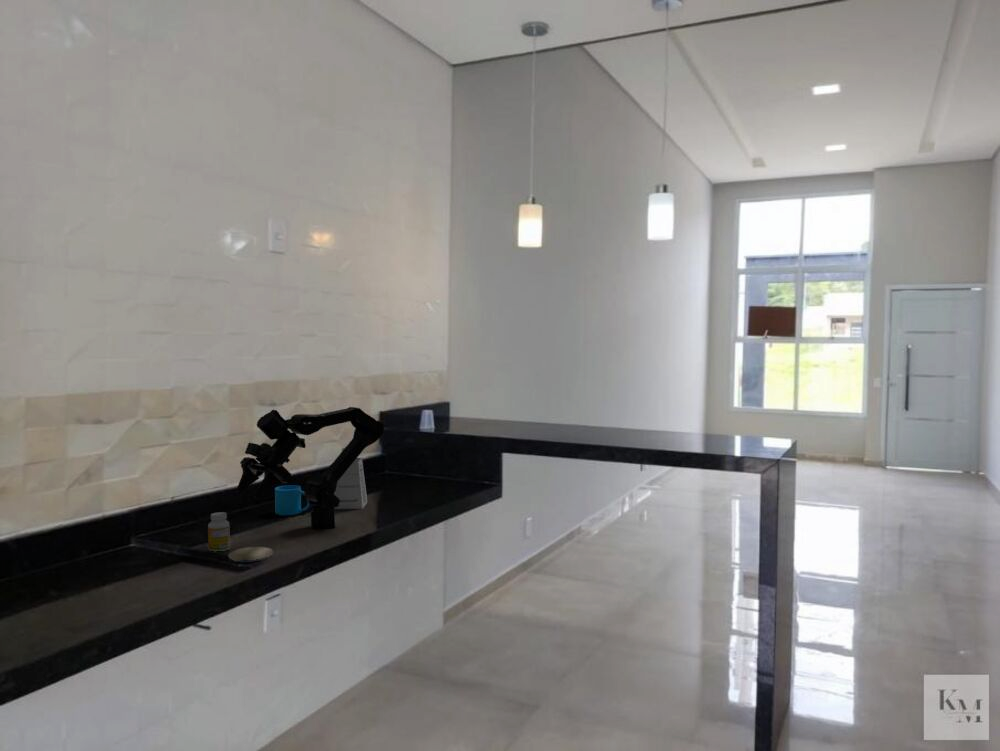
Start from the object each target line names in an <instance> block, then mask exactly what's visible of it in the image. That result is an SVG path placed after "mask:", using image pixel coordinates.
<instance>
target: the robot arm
mask: <svg viewBox="0 0 1000 751" xmlns="http://www.w3.org/2000/svg"><path fill="white" fill-rule="evenodd" d="M349 422H350V424H351V425H352V427H353V428H355V429H354V431H353V435H352V437H353V438H352V439H351V440H350V441H349V443H348V444H346V445H345V446H346V447H345V446H344V447H345V449H344V450H343V451H342V450H341V452H340V453H339V455H338V456H337V457H336V458H335V459H334V461H333V462H332V463H331V464H330V465H329V466H328V468H327V469H326V470H325V471H323V473H317V472H316V473H314V474H312V476H311V477H310V479H309V480H308V481H307V482H305V484H306V485H305V486H304V490H303V491H304V494H305V495H304V497H305V499H306V500H307V499H308V501H307V502H309V504H310V506H312V509H311V512H310V525H311V526H312V529H313V530H314V529H319V530H320V529H334V528H336V521H335V520H336V519H335V518H336V517H335V511H336V509H335V507H338V506H339V502H340V499H339V498H338V497H336V496H335V495H334V492H335V491H336V486H337V482H338V480H339V479H340V478H341V477H342V476H343V474H344V473H345V472H346V471H347V469H348V468H349V467H350V466H351V465H352V463H353V462H354V461H355V460H356V458H359V456H360V455H361V453H362V452H363V451H364V450H365V449H366V448H367V447H369V446H371V445H372V444H374V443H376V442H377V441H378V440H380V438H382V437H383V435H384V433H385V427H384V424H383V422H381V421H379V420H376V419H375V418H374V417H372V416H371V415H369V414H367V413H366V412H364V410H362V408H360V407H354V406H349V407H347V408H342V409H338V410H333V411H329V412H323V413H318V414H311V413H310V414H307V413H305V414H304V413H303V414H302V413H299V414H298V413H297V414H293V415H292V416H291V417H290V418H288V419H285V418H283V417H282V416H281V414H280V413H279V411H278V410H277V409H271V411H270V412H268V413H265V414H264V415H263V416H261V417H260V418H258V420H257V422H256V427H257V428H258V429H259V430H260V431H261V432H262V433H263V434H264V435H265V436H266V437H267V438H268V439H269V440H275V441H274V443H273V444H272V445H271V444H269V443H267V442H262V443H261V444H258V443H253V442H248V444H247V446H246V449H245V451H244V454H246V455H250V456H252V457H249V456H248V457H243V458H242V459H241V460H240V462H239V463H240V464H239V465H240V467H241V470H242V474H241V476H240V479H239V482H238V484H237V487H236V490H235V491H236V492H237V493H241V492H242V491H244V490H246V489H247V488H248V487H249V486H251V485H252V484H254V483H255V482H256V481H258V480H259V479H260V477H261V476H262V475H263V474H264V475H263V476H264V477H263V479H262V480H261V482H260V483H259V484H258V486H257V488H256V489H255V490H254V493H253V497H254V498H258V497H260V496H262V495H263V494H265V493H267V492H269V491H271V490H273V489H274V490H275V488H276V487H279V486H284V484H288V483H289V482H290V481H291V479H292V473H291V472H290V471H289V470H288V469H287V468H286V467H285V466H284V463H287V464H288V463H289V462H291V459H289V458H290V456H291V455H292V454H293V452H294V451H295V450H296V448H297V447H298V448H301V449H306V447H307V446H306V442H305V441H306V440H305V438H304V437H303V438H301V437H300V436H298V435H301V436H310V435H313V434H315V433H317V432H319V431H320V430H321V429H323V428H326V427H330V426H335V425H339V424H340V425H341V424H343V423H344V424H345V423H349ZM253 457H254V458H253Z"/></svg>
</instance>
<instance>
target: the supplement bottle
mask: <svg viewBox="0 0 1000 751" xmlns="http://www.w3.org/2000/svg"><path fill="white" fill-rule="evenodd" d="M227 518H228V516H227V512H224V511H222V512H220V511H219V512H213V513H211V514H210V520H211V521H210V522H209V523H208V525H207V538H208V539H207V541H208V542H207V545H208V551H209V550H213V551H223V552H226V551H225V550H227V551H228V549H229V550H230V549H231V535H230V533H231V531H230V528H231V527H230V522H229V521H228V520H227Z"/></svg>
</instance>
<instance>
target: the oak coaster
mask: <svg viewBox="0 0 1000 751" xmlns="http://www.w3.org/2000/svg"><path fill="white" fill-rule="evenodd" d="M272 554H273V555H274V549H272V548H270V547H265V546H250V547H249V546H248V547H241V548H237V549H235V550H232V551H230V552H229V553H228V555H227V558H228V557H229V558H230V559H232V560H234V561H240V560H256V559H262V558H265V557H269V556H270V555H272Z"/></svg>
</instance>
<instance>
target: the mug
mask: <svg viewBox="0 0 1000 751" xmlns="http://www.w3.org/2000/svg"><path fill="white" fill-rule="evenodd" d="M301 487H302V486H300V485H291V484H289V485H280V486H278V487H276V488H274V497H275V498H274V507H275V509H274V512H275V513H276V514H275V515H277V514H279V515H278V516H292V515H293V516H294V515H298V514H301V513H302V512H304V511H306V510H307V509H309V507H310V506H311V505H310V504H309V502H308V499H306V501H307V504H306V505H305V506H304V507H303V508H302V495H303V496H305V494H304V490H302V488H301Z"/></svg>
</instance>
